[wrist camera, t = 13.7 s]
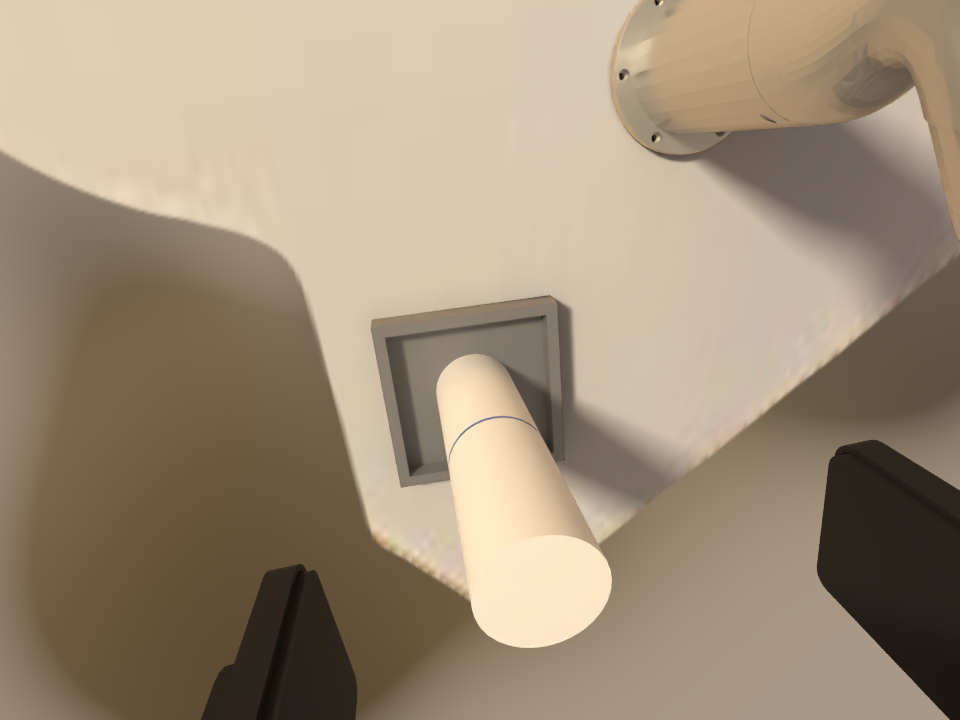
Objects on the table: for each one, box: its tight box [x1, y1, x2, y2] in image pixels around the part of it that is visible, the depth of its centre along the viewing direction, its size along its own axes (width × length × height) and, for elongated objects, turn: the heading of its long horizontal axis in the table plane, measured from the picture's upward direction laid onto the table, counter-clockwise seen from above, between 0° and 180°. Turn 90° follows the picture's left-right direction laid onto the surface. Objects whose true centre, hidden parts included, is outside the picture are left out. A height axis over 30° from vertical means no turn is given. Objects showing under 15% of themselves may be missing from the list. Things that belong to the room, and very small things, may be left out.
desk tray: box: [371, 295, 565, 488], centre depth 49 cm, size 16×16×2 cm
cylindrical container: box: [436, 354, 612, 648], centre depth 38 cm, size 7×7×25 cm
